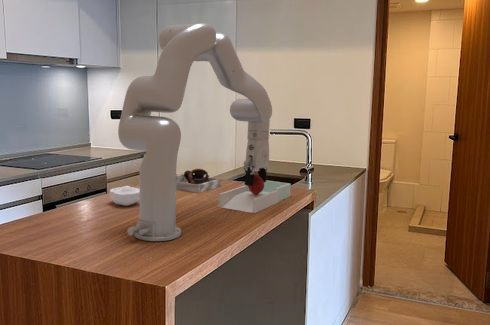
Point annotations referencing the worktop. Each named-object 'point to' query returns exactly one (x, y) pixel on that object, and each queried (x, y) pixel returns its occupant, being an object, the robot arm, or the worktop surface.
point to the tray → (272, 186)
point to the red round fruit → (257, 185)
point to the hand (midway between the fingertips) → (255, 183)
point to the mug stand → (196, 188)
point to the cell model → (125, 195)
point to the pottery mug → (196, 176)
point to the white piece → (247, 200)
